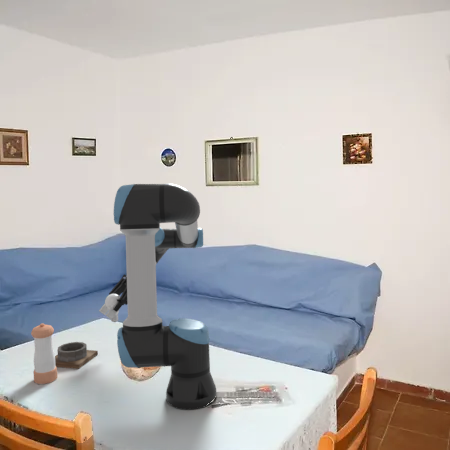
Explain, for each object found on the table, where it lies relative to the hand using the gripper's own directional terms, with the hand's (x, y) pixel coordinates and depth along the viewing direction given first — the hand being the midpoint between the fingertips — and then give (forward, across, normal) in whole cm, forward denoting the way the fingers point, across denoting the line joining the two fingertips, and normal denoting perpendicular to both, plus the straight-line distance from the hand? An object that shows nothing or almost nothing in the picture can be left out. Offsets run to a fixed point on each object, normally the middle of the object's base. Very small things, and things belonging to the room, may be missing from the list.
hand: (105, 315), depth 171 cm
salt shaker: (+28, -8, +6) cm, 30 cm away
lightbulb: (0, 0, -5) cm, 5 cm away
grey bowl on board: (+19, +2, -2) cm, 20 cm away
